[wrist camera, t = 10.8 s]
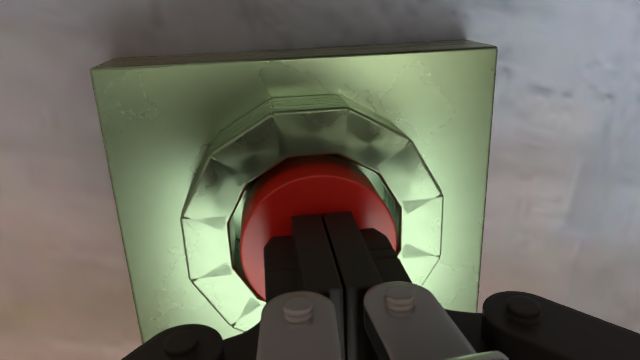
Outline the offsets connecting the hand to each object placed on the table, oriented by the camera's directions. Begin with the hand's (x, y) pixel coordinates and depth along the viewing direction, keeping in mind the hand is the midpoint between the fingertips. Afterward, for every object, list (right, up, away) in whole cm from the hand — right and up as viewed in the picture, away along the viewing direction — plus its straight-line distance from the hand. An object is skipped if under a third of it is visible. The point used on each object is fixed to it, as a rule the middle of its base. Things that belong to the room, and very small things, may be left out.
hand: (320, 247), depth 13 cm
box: (-1, +1, +4) cm, 5 cm away
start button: (0, 0, +2) cm, 2 cm away
